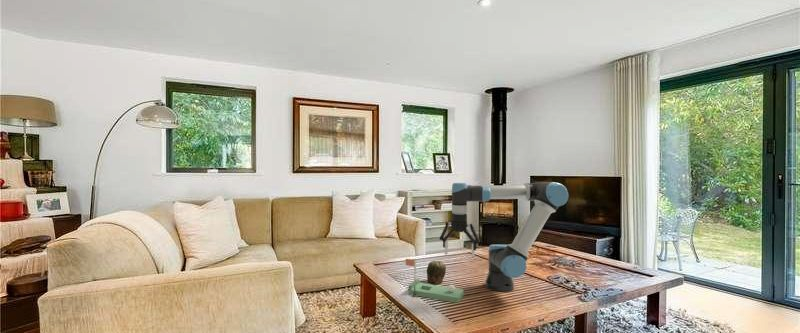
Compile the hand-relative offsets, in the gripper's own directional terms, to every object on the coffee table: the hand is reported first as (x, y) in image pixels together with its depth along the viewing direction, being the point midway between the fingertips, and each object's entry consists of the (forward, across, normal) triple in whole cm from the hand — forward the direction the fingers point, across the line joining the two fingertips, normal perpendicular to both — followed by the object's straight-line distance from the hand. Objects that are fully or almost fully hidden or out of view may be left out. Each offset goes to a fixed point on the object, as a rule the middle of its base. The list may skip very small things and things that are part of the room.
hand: (459, 255), depth 167 cm
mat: (+21, +12, +1) cm, 24 cm away
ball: (+17, +4, +1) cm, 17 cm away
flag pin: (+21, +23, +8) cm, 32 cm away
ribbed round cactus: (+21, +17, -17) cm, 32 cm away
